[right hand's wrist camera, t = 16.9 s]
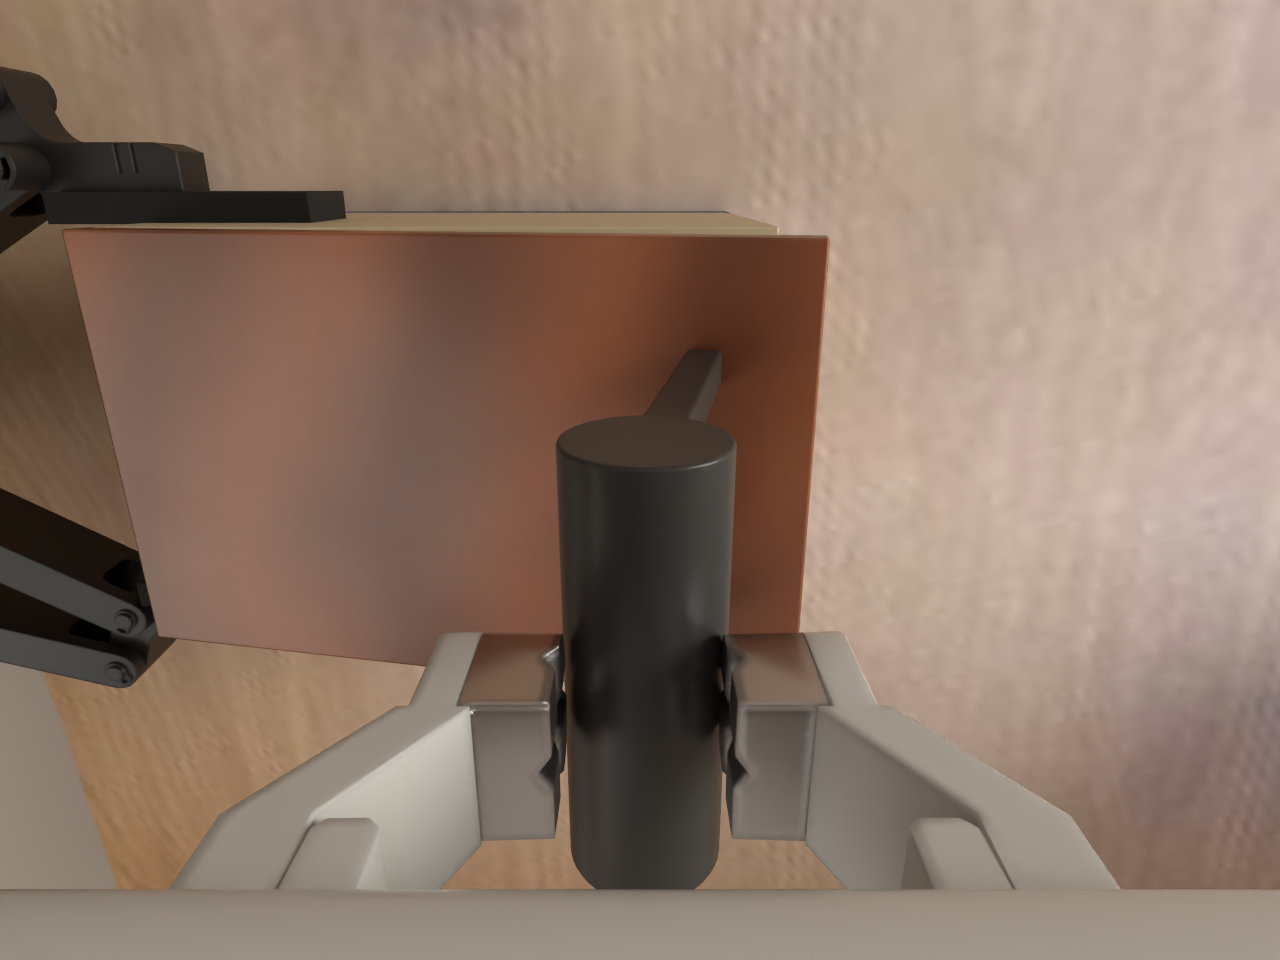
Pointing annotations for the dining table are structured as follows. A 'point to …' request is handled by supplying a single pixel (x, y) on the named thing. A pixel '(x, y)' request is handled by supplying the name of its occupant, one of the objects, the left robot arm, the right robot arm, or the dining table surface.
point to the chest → (514, 223)
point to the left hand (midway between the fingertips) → (353, 404)
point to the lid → (479, 468)
